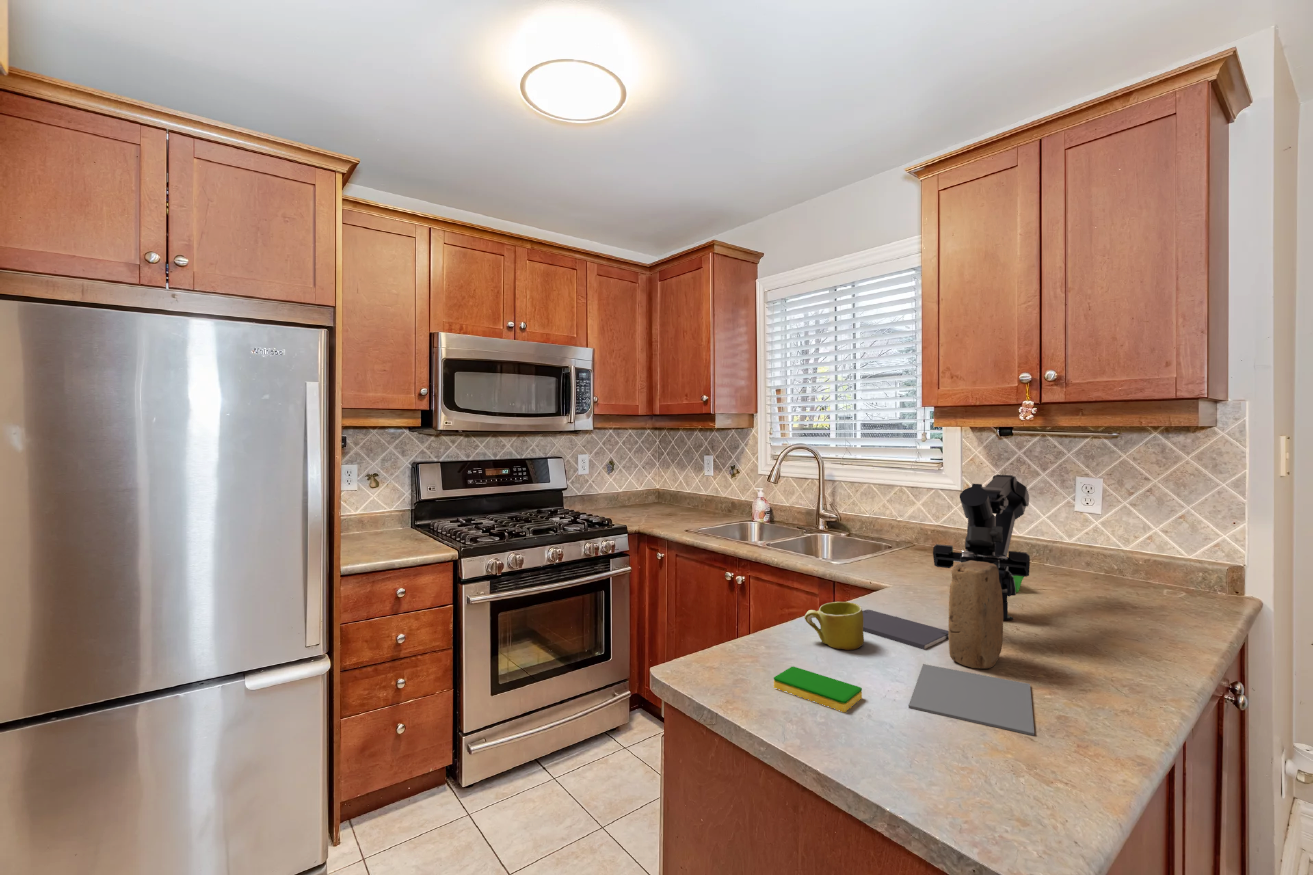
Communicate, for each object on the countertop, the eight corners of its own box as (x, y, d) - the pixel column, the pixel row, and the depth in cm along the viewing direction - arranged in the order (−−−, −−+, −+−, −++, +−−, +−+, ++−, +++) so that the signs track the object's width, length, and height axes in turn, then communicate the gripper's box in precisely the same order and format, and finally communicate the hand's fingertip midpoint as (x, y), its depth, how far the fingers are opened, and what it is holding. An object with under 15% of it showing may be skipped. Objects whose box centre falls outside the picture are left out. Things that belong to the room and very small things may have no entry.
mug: (869, 628, 134) (860, 590, 131) (870, 658, 125) (860, 618, 122) (815, 632, 139) (805, 595, 136) (811, 661, 129) (800, 622, 127)
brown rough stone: (982, 674, 114) (983, 570, 113) (944, 661, 120) (944, 563, 120) (1008, 660, 120) (1009, 562, 120) (970, 649, 126) (971, 556, 126)
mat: (923, 665, 118) (923, 663, 118) (1029, 685, 109) (1030, 683, 109) (908, 707, 101) (908, 705, 101) (1034, 735, 92) (1034, 733, 92)
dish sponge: (844, 715, 99) (844, 701, 99) (772, 690, 108) (772, 677, 108) (862, 700, 104) (862, 687, 104) (792, 677, 114) (792, 665, 114)
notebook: (838, 625, 143) (924, 652, 126) (838, 619, 143) (924, 644, 126) (867, 615, 151) (952, 638, 134) (867, 608, 151) (952, 631, 134)
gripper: (934, 509, 136) (928, 566, 127) (1030, 515, 127) (1031, 578, 118) (937, 537, 143) (931, 594, 134) (1028, 545, 134) (1029, 607, 124)
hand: (978, 592), depth 127 cm, fingers closed
